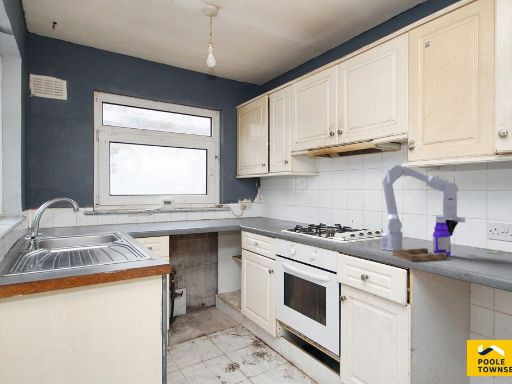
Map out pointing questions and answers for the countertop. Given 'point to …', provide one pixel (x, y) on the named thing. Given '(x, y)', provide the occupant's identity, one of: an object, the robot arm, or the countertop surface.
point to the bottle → (441, 238)
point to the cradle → (418, 254)
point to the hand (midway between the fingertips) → (449, 235)
